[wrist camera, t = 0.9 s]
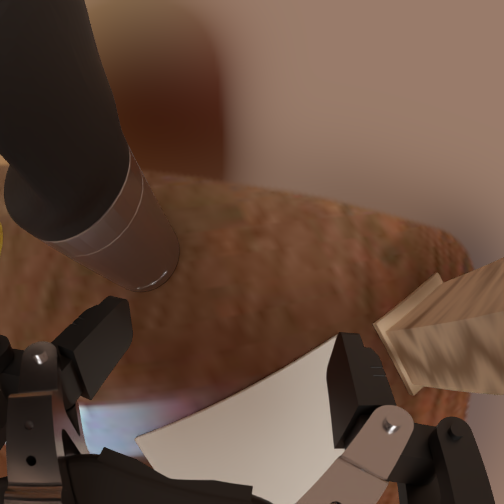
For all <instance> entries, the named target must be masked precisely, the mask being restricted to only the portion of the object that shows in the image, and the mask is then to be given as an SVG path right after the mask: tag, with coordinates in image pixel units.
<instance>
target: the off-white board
mask: <svg viewBox="0 0 504 504" xmlns="http://www.w3.org/2000/svg"><path fill="white" fill-rule="evenodd" d="M337 335H338V334H337ZM337 335H335V336H333V337H332V338H330V339H329V340H327V341H326V342H324V343H323V344H321V345H320V346H318V347H316V348H315V349H313V350H312V351H310V352H308V353H307V354H305V355H304V356H302V357H300V358H299V359H297V360H295V361H294V362H292V363H290V364H289V365H287V366H285V367H284V368H282V369H280V370H278V371H277V372H275V373H273V374H271V375H270V376H268V377H266V378H264V379H262V380H260V381H259V382H257V383H255V384H253V385H251V386H249V387H247V388H246V389H244V390H242V391H240V392H238V393H236V394H234V395H232V396H230V397H228V398H226V399H224V400H222V401H220V402H218V403H216V404H214V405H211V406H209V407H207V408H205V409H203V410H201V411H199V412H196V413H194V414H192V415H190V416H187V417H185V418H183V419H180V420H178V421H176V422H173V423H171V424H168V425H166V426H164V427H161V428H159V429H156V430H153V431H151V432H148V433H146V434H143V435H140V436H138V437H136V438H135V439H134V440H135V441H136V443H137V444H138V446H139V448H140V449H141V451H142V452H143V454H144V455H145V457H146V458H147V460H148V461H149V463H150V464H151V465H152V467H153V468H154V470H155V471H157V472H159V473H161V474H162V475H164V476H166V477H168V478H171V479H183V480H217V481H222V482H228V483H235V484H242V485H249V486H253V490H252V494H253V495H256V496H258V497H261V498H263V499H265V500H268V501H270V502H271V503H273V504H295V503H296V502H297V501H298V500H299V499H300V498H301V497H302V496H303V495H304V494H305V493H306V492H307V491H308V490H309V489H310V488H311V487H312V486H313V485H314V484H315V483H316V482H317V481H318V479H319V478H320V477H321V476H322V475H323V474H324V473H325V472H326V471H327V469H328V468H329V467H330V466H331V465H332V464H333V462H334V461H335V460H336V459H337V458H338V457H339V456H341V455H342V454H343V452H344V451H345V449H334V443H333V433H332V423H331V414H330V405H329V397H328V389H327V381H326V372H327V366H328V362H329V359H330V356H331V353H332V350H333V347H334V344H335V341H336V337H337Z"/></svg>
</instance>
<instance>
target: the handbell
mask: <svg viewBox="0 0 504 504" xmlns="http://www.w3.org/2000/svg"><path fill="white" fill-rule="evenodd" d="M2 243H3V231H2V225H1V223H0V254H1V249H2Z"/></svg>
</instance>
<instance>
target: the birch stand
mask: <svg viewBox="0 0 504 504" xmlns="http://www.w3.org/2000/svg"><path fill="white" fill-rule="evenodd" d="M373 326H374V328H375V330H376V331H377V333H378V335H379V337H380V339H381V341H382V342H383V344H384V346H385V348H386V350H387V352H388V354H389V355H390V357H391V359H392V361H393V363H394V365H395V367H396V369H397V371H398V373H399V375H400V377H401V379H402V381H403V383H404V385H405V387H406V389H407V391H408V393H409V395H413V396H414V395H415V394H416V393H417V392H418V391H419V390H420V389H422V388H423V387H424V386H426V387H433V388H440V389H447V390H455V391H463V392H472V393H483V394H494V395H504V258H501V259H499V260H497V261H495V262H493V263H490V264H488V265H486V266H483V267H481V268H479V269H476V270H474V271H471V272H469V273H466V274H464V275H462V276H459V277H456V278H454V279H451V280H449V281H446V282H444V283H443V281H442V279H441V277H440V275H439V273H438V272H437V273H435V274H433V275H432V276H431V277H430V278H429V279H428V280H426V281H425V282H424V283H423V284H422V285H421V286H420V287H418V288H417V289H416V290H415V291H414V292H412V293H411V294H410V295H409V296H408V297H406V298H405V299H404V300H403V301H402V302H400V303H399V304H398V305H397V306H395V307H394V308H393V309H392V310H390V311H389V312H388V313H386V314H385V315H384V316H383V317H381V318H380V319H379V320H377V321H376V322H375V323H373Z"/></svg>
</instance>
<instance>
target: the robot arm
mask: <svg viewBox="0 0 504 504" xmlns="http://www.w3.org/2000/svg"><path fill="white" fill-rule="evenodd" d="M0 154H1V155H2V156H3V158H4V159H5V160H6V161H7V162H8V163H9V164H10V166H9V168H8V171H7V174H6V179H5V184H4V199H5V205H6V208H7V210H8V213H9V214H10V216H11V218H12V219H13V220H14V221H15V222H16V223H17V224H18V225H19V226H20V227H21V228H23V229H24V230H26V231H27V232H29V233H30V234H32V235H33V236H35V237H36V238H38V239H40V240H41V241H43V242H44V243H46V244H48V245H49V246H51V247H52V248H54V249H56V250H58V251H59V252H61V253H63V254H64V255H66V256H68V257H69V258H71V259H73V260H75V261H76V262H78V263H80V264H82V265H83V266H85V267H87V268H89V269H90V270H92V271H94V272H96V273H98V274H99V275H101V276H103V277H105V278H107V279H109V280H110V281H112V282H114V283H116V284H118V285H120V286H122V287H124V288H126V289H128V290H131V291H135V292H145V291H150V290H153V289H155V288H157V287H159V286H160V285H162V284H163V283H165V282H166V281H167V280H168V279H169V278H170V276H171V275H172V273H173V272H174V270H175V268H176V265H177V263H178V259H179V243H178V239H177V237H176V235H175V233H174V231H173V229H172V227H171V226H170V224H169V222H168V220H167V218H166V216H165V214H164V213H163V211H162V209H161V207H160V205H159V203H158V202H157V200H156V198H155V196H154V194H153V192H152V190H151V188H150V187H149V185H148V183H147V181H146V179H145V177H144V175H143V173H142V171H141V169H140V167H139V166H138V164H137V162H136V160H135V158H134V156H133V154H132V152H131V150H130V148H129V146H128V144H127V142H126V140H125V137H124V135H123V133H122V130H121V127H120V123H119V118H118V114H117V109H116V104H115V101H114V97H113V94H112V91H111V88H110V86H109V83H108V80H107V77H106V74H105V72H104V69H103V66H102V63H101V60H100V57H99V53H98V50H97V47H96V43H95V40H94V36H93V32H92V28H91V24H90V21H89V16H88V12H87V8H86V5H85V1H84V0H0ZM132 337H133V330H132V324H131V316H130V308H129V303H128V301H127V300H126V299H122V298H118V297H113V296H108V297H107V298H106V299H104V300H103V301H102V302H101V303H100V304H99V305H96V306H93V307H91V308H89V309H87V310H86V311H84V312H83V313H82V314H81V315H80V316H79V318H77V319H76V320H75V321H74V322H73V323H72V324H70V325H69V326H68V327H67V328H66V329H65V330H64V331H63V332H62V333H61V334H60V335H59V336H58V337H57V338H56V339H55V340H54V341H53V342H51V343H49V342H37V343H34V344H31V345H30V346H28V347H27V348H26V349H25V350H18V349H12V347H11V345H10V342H9V340H8V338H7V337H5V336H3V335H0V450H1V448H2V447H3V445H4V444H5V442H6V456H7V474H8V476H6V477H3V478H0V504H273V503H271V502H270V501H268V500H265V499H263V498H261V497H258V496H256V495H253V494H252V490H253V486H249V485H242V484H235V483H228V482H222V481H217V480H183V479H171V478H168V477H166V476H164V475H162V474H161V473H159V472H157V471H155V470H153V469H152V468H150V467H148V466H147V465H145V464H143V463H142V462H140V461H138V460H137V459H134V458H131V457H128V456H126V455H123V454H120V453H118V452H115V451H113V450H110V449H108V448H105V447H104V448H103V450H102V452H101V454H100V455H98V454H90V453H89V451H88V449H87V446H86V443H85V439H84V434H83V429H82V423H81V417H80V410H79V404H78V402H77V399H78V398H79V396H82V397H85V398H87V399H89V400H92V398H93V397H94V395H95V394H96V392H97V391H98V390H99V388H100V387H101V385H102V384H103V382H104V381H105V380H106V378H107V377H108V375H109V374H110V373H111V371H112V370H113V368H114V367H115V366H116V364H117V363H118V361H119V360H120V359H121V357H122V356H123V355H124V353H125V352H126V350H127V349H128V348H129V346H130V344H131V342H132ZM382 367H383V366H382V363H381V361H380V358H379V356H378V355H377V354H376V353H375V352H374V351H373V350H372V349H371V348H366V347H364V346H363V343H362V340H361V337H360V335H359V334H356V333H343V332H339V333H338V335H337V337H336V341H335V344H334V347H333V350H332V353H331V356H330V359H329V362H328V366H327V372H326V381H327V389H328V397H329V405H330V414H331V423H332V433H333V443H334V449H345V451H344V452H343V454H342V455H341V456H339V457H338V458H337V459H336V460H335V461H334V462H333V464H332V465H331V466H330V467H329V468H328V469H327V471H326V472H325V473H324V474H323V475H322V476H321V477H320V478H319V479H318V481H317V482H316V483H315V484H314V485H313V486H312V487H311V488H310V489H309V490H308V491H307V492H306V493H305V494H304V495H303V496H302V497H301V498H300V499H299V500H298V501H297V502H296V503H295V504H376V503H377V501H378V500H379V498H380V497H381V495H382V494H383V492H384V490H385V489H386V487H387V485H388V482H389V481H391V482H397V484H398V492H399V501H400V504H495V501H494V497H493V494H492V490H491V486H490V483H489V479H488V476H487V473H486V470H485V467H484V464H483V461H482V458H481V455H480V452H479V449H478V446H477V444H476V441H475V438H474V436H473V433H472V431H471V429H470V427H469V425H468V424H467V423H466V422H465V421H463V420H462V419H460V418H457V417H446V418H444V419H442V420H441V421H440V422H439V424H438V425H437V426H436V427H434V426H428V425H422V424H417V423H414V422H413V419H412V417H411V416H410V414H409V413H408V412H407V411H405V410H404V409H402V408H400V407H398V406H396V403H395V400H394V397H393V394H392V391H391V388H390V386H389V383H388V380H387V377H385V375H386V374H385V372H384V369H382Z"/></svg>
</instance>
